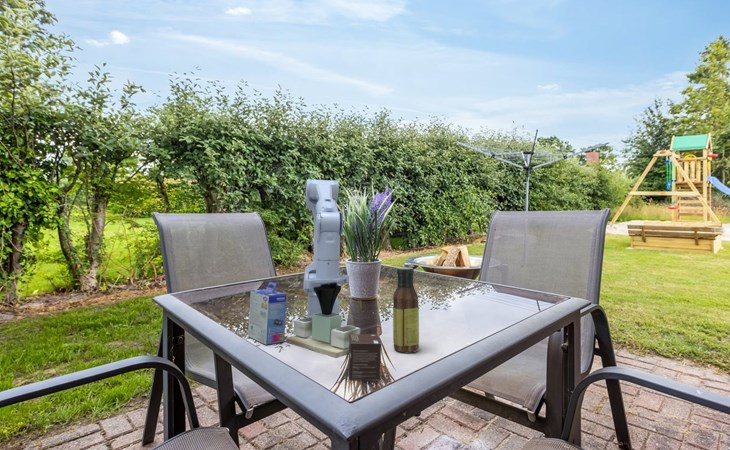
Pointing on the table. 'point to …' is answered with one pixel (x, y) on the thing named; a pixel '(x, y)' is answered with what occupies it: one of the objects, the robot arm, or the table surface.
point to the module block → (324, 325)
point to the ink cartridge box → (267, 315)
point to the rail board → (305, 340)
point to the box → (364, 357)
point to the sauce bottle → (405, 313)
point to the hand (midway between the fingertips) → (326, 314)
